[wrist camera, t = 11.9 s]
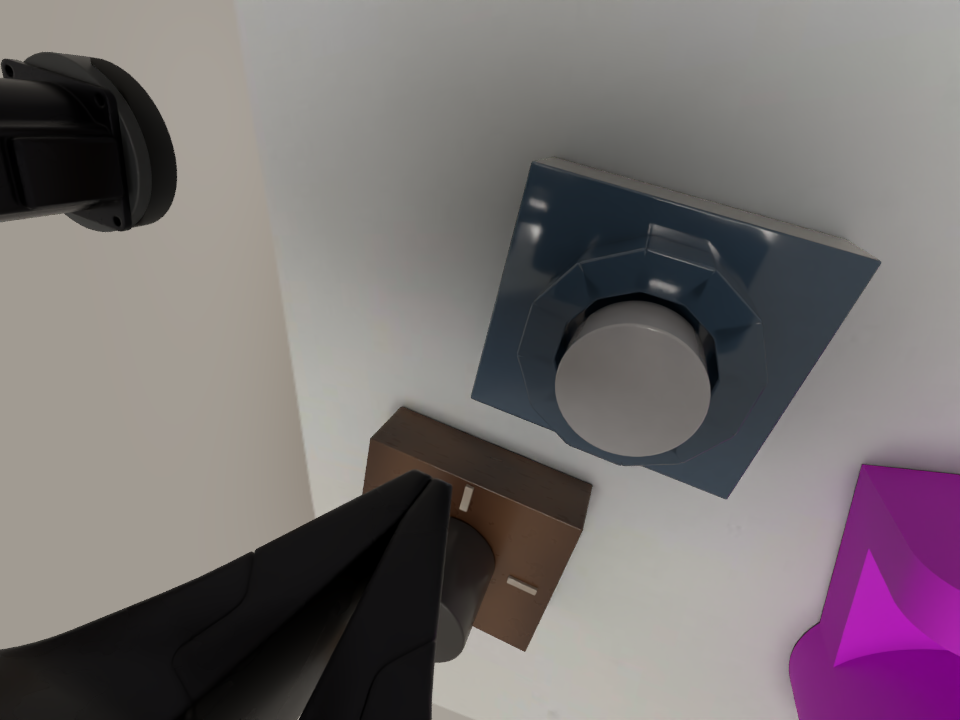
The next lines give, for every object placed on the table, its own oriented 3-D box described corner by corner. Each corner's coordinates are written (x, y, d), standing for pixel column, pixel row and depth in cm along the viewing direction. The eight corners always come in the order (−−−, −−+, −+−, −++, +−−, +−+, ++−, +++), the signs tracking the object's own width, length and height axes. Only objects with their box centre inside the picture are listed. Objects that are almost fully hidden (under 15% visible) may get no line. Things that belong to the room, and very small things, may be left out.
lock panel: (379, 528, 29) (349, 568, 26) (401, 406, 25) (368, 440, 22) (538, 602, 27) (524, 655, 24) (592, 485, 23) (582, 533, 20)
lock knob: (482, 600, 24) (448, 686, 20) (402, 561, 25) (356, 636, 21) (506, 541, 22) (472, 624, 18) (417, 499, 23) (368, 572, 19)
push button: (551, 393, 16) (537, 425, 14) (591, 281, 14) (580, 302, 13) (672, 439, 15) (672, 478, 14) (731, 327, 13) (740, 357, 12)
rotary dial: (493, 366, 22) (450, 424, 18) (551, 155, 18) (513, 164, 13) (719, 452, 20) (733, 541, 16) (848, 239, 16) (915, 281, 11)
